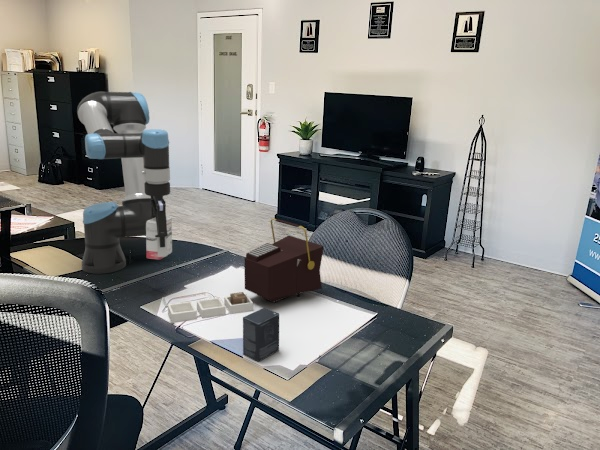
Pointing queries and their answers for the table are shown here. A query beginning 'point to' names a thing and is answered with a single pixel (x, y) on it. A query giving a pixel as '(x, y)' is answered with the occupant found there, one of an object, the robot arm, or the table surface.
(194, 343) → the table surface
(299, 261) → the brown boxy machine
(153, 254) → the ink box
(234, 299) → the letter cube
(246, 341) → the box
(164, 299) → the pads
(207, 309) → the bins
